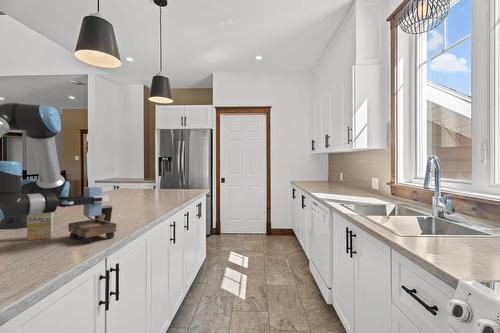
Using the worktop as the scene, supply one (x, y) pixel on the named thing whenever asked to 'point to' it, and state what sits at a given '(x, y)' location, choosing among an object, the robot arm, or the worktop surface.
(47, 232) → the supplement box
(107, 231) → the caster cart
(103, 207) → the coffee mug
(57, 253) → the worktop surface
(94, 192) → the slate post
